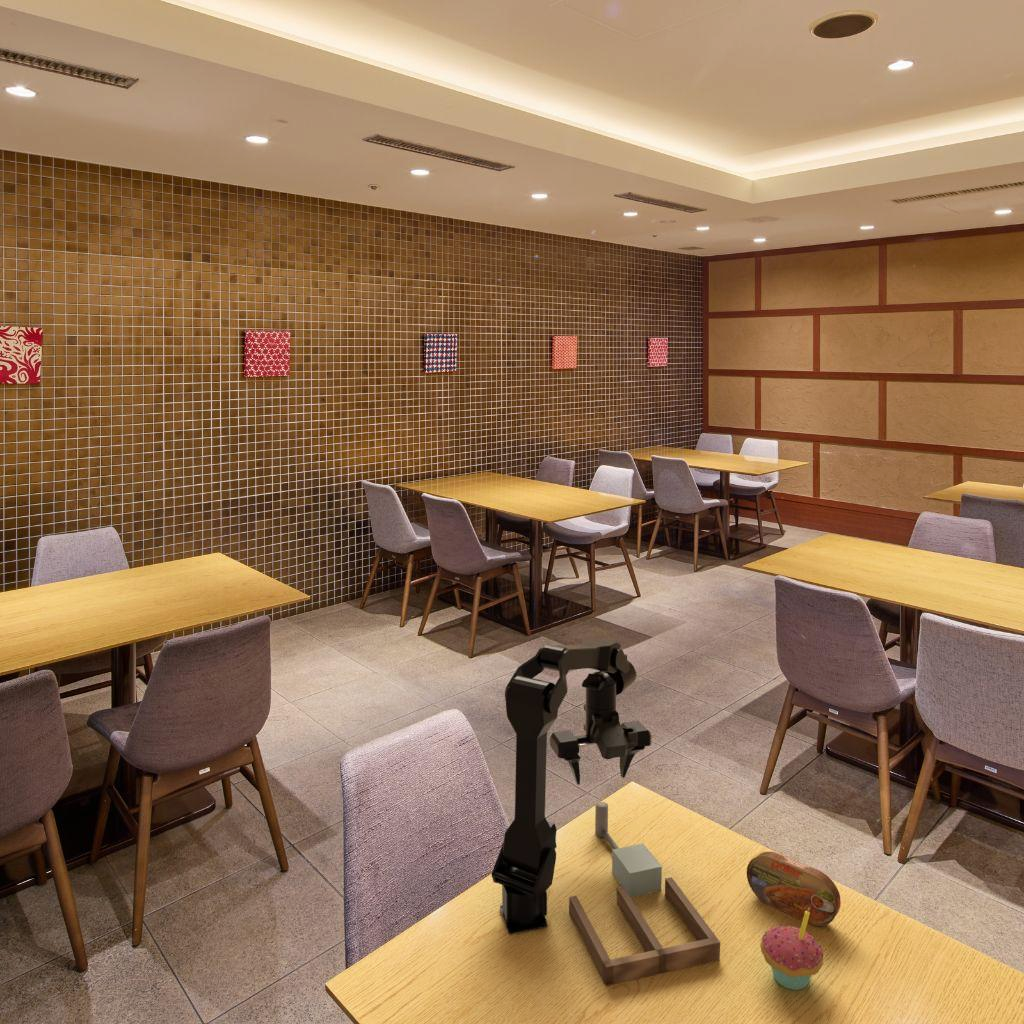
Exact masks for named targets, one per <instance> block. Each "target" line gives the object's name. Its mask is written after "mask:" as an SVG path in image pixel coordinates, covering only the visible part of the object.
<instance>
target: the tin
mask: <svg viewBox="0 0 1024 1024" xmlns="http://www.w3.org/2000/svg"><path fill="white" fill-rule="evenodd" d="M746 878H747V883H748V884H749V887H750V888H751V891H752V892H753V894H754V895H755V896H756V897H757V898H758V899H759V900H760V901H761V902H762V903H764V904H766V905H767V906H770V907H771V908H774V909H777V910H779V911H780V912H784V913H785V914H788V915H790V916H792V917H794V918H797V919H798V920H801V921H803V917H804V913H805V911H808V908H810V910H809V913H810V914H809V918H808V922H807V924H808V925H812V926H816V927H823V926H828V925H830V923H832V922H833V921H834V920H835V918H836V916H837V915H838V913H839V912H840V909H841V903H842V902H841V895H840V891H839V889H838V887H837V885H836V884H835V882H834V881H833V880H832V879H831V878H830V876H829V875H827V874H826V873H824V872H823V871H822V870H819V869H817V868H814V867H812V866H809V865H807V864H805V863H803V862H802V863H801V862H799V861H797V860H795V859H792V858H790V857H787V856H785V855H783V854H780V853H778V852H775V851H763V852H761V853H758V855H756V856H755V857H753V858H752V859H751V860H750V861H749V862H748V864H747V867H746Z"/></svg>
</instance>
